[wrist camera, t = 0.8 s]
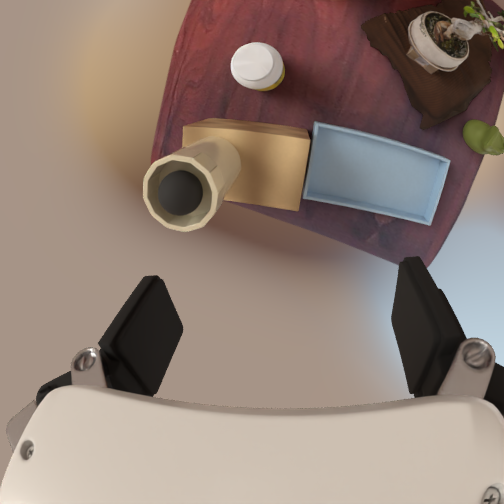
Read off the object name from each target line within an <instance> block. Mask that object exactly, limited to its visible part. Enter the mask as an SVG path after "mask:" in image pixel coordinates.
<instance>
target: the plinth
mask: <svg viewBox="0 0 504 504" xmlns="http://www.w3.org/2000/svg"><path fill="white" fill-rule="evenodd" d="M208 136H216V137H221V138H223V139H225V140H227V141H229V142H230V143H231V144H232V145H233V146H234V147H235V148H236V150H237V151H238V153H239V156H240V159H241V171H240V174H239V177H238V179H237V180H236V182H235V183H234V185H233V186H232V187H231V189H230V190H229V192H228V193H227V195H226V196H225V198H224V199H223V200H228V201H235V202H242V203H249V204H256V205H262V206H269V207H275V208H281V209H287V210H294V211H298V210H299V204H300V199H301V193H302V188H303V182H304V176H305V170H306V165H307V159H308V153H309V146H310V138H309V135H308V132H307V129H303V128H297V127H290V126H284V125H277V124H269V123H261V122H252V121H243V120H232V119H219V118H210V119H206V120H202V121H199V122H196V123H192V124H189V125H186V126H183V146H182V148H183V147H185V146H187V145H189V144H191V143H193V142H195V141H197V140H199V139H201V138H204V137H208Z"/></svg>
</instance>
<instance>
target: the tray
mask: <svg viewBox="0 0 504 504" xmlns="http://www.w3.org/2000/svg"><path fill="white" fill-rule="evenodd" d="M449 164H450V160H449V159H447V158H445V157H443V156H441V155H438V154H435V153H433V152H430V151H427V150H424V149H421V148H418V147H415V146H412V145H409V144H406V143H403V142H399V141H396V140H393V139H389V138H386V137H382V136H378V135H375V134H371V133H367V132H363V131H359V130H355V129H350V128H346V127H342V126H337V125H332V124H327V123H322V122H317V121H314V127H313V134H312V140H311V146H310V152H309V158H308V164H307V170H306V176H305V182H304V187H303V199H309V200H315V201H320V202H326V203H331V204H336V205H341V206H346V207H351V208H356V209H361V210H366V211H370V212H375V213H380V214H384V215H389V216H393V217H397V218H402V219H406V220H410V221H414V222H418V223H422V224H426V225H431V222H432V219H433V216H434V214H435V211H436V208H437V205H438V202H439V199H440V195H441V192H442V189H443V186H444V182H445V179H446V175H447V172H448V168H449Z"/></svg>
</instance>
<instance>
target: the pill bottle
mask: <svg viewBox="0 0 504 504" xmlns="http://www.w3.org/2000/svg"><path fill="white" fill-rule="evenodd" d="M231 71H232V74H233V76H234V78H235V79H236V81H237V82H238V83H240V84H241V85H243V86H245V87H247V88H250V89H254V90H258V91H268V90H272V89H274V88H276V87H277V86H278V85H279V84H280V83H281V82H282V80H283V78H284V75H285V67H284V64H283V61H282V58H281V56H280V54H279V53H278V51H277V50H276V49H274V48H273V47H272V46H270V45H268V44H265V43H259V42H256V43H249V44H246V45H244V46H242V47H240V48H239V49H238V50H237V51H236V52H235V54H234V56H233V58H232V61H231Z"/></svg>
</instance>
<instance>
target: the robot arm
mask: <svg viewBox="0 0 504 504" xmlns="http://www.w3.org/2000/svg"><path fill="white" fill-rule="evenodd" d="M391 320H392V326H393V329H394V333H395V336H396V340H397V344H398V347H399V351H400V355H401V359H402V363H403V367H404V371H405V375H406V380H407V384H408V388H409V392H410V394H414V397H415V398H411V399H404V400H397V401H390V402H382V403H373V404H364V405H354V406H342V407H327V408H304V409H303V408H300V409H299V408H298V409H272V408H271V409H270V408H244V407H228V406H216V405H206V404H197V403H189V402H182V401H175V400H168V399H162V398H156V397H153V395H154V394H156V393H157V392H158V389H159V387H160V385H161V382H162V379H163V377H164V375H165V373H166V370H167V368H168V366H169V363H170V361H171V359H172V356H173V354H174V352H175V349H176V347H177V345H178V342H179V340H180V337H181V336H182V333H183V325H182V323H181V320H180V318H179V316H178V314H177V311H176V309H175V307H174V304H173V302H172V300H171V298H170V295H169V293H168V290H167V288H166V286H165V283H164V281H163V280H162V279H160V277H159V276H157V275H156V276H145V277H143V279H142V280H141V281H140V283H139V284H138V285H137V287H136V288H135V290H134V291H133V292H132V294H131V295H130V297H129V298H128V300H127V301H126V302H125V304H124V305H123V307H122V308H121V310H120V311H119V312H118V314H117V315H116V317H115V318H114V320H113V321H112V323H111V324H110V326H109V327H108V329H107V330H106V332H105V333H104V335H103V336H102V338H101V339H100V341H99V342H98V344H99V346H100V347H101V349H100V351H98V350H97V349H96V348H93V347H89V348H85V349H83V350H81V351H80V352H78V353H77V354H76V356H75V357H74V358H73V360H72V362H71V371H69V372H67V373H66V374H63V375H61V376H59V377H57V378H56V379H54V380H52V381H50V382H48V383H46V384H44V385H43V386H41V388H40V389H39V391H38V393H37V396H36V401H35V400H33V401H32V402H31V403H29V404H28V405H27V406H26V407H25V408H23V409H22V410H21V411H20V412H19V413H18V414H16V415H15V416H14V417H13V418H12V419H11V420H10V421H9V422H8V425H7V428H6V433H7V436H8V439H9V443H10V446H11V448H12V451H13V456H12V458H11V460H10V463H9V465H8V468H7V470H6V473H5V475H4V478H3V481H2V484H1V487H0V504H504V367H503V366H501V365H499V364H497V363H495V357H496V356H495V352H494V350H493V348H492V346H491V345H490V344H489V343H488V342H486V341H484V340H483V339H479V338H469V339H467V338H466V336H465V334H464V332H463V330H462V327H461V325H460V324H459V321H458V319H457V317H456V315H455V314H454V311H453V309H452V307H451V306H450V304H449V302H448V300H447V298H446V296H445V294H444V293H443V291H442V290H441V289H438V288H437V286H436V284H435V282H434V281H433V279H432V277H431V275H430V274H429V272H428V270H427V268H426V267H425V265H424V263H423V262H422V260H421V258H420V257H419V256H416V257H405V258H404V261H403V262H400V264H399V270H398V278H397V285H396V292H395V298H394V304H393V310H392V316H391Z"/></svg>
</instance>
